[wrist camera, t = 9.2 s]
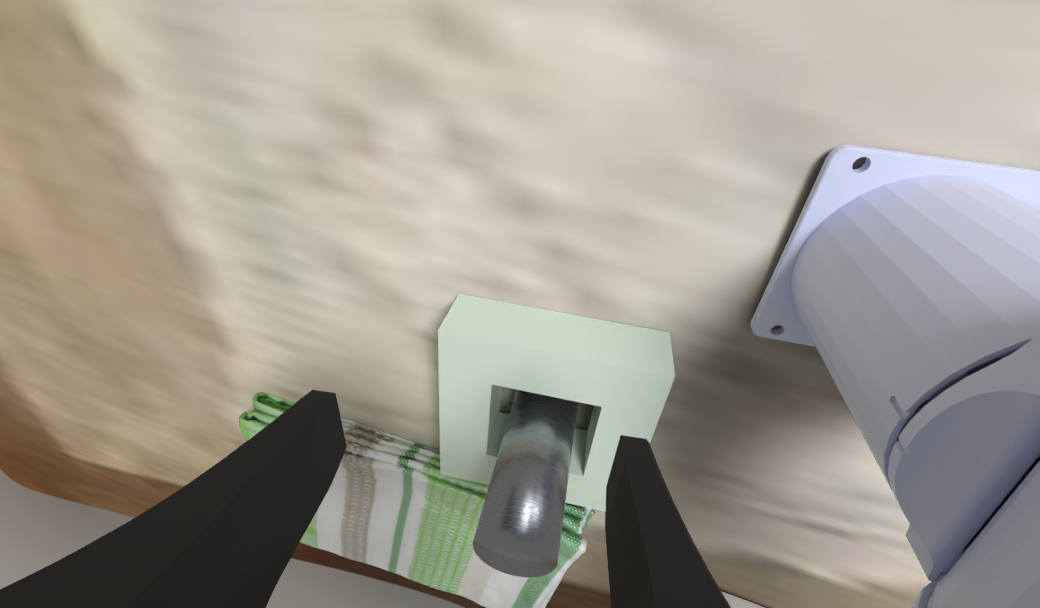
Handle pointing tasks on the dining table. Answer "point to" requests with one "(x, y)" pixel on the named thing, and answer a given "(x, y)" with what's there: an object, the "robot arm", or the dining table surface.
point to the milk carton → (739, 602)
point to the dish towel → (416, 517)
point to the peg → (528, 488)
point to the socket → (546, 385)
